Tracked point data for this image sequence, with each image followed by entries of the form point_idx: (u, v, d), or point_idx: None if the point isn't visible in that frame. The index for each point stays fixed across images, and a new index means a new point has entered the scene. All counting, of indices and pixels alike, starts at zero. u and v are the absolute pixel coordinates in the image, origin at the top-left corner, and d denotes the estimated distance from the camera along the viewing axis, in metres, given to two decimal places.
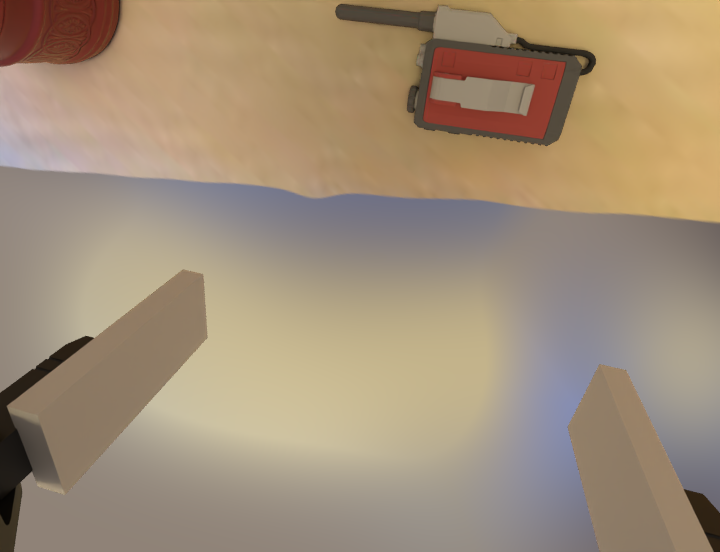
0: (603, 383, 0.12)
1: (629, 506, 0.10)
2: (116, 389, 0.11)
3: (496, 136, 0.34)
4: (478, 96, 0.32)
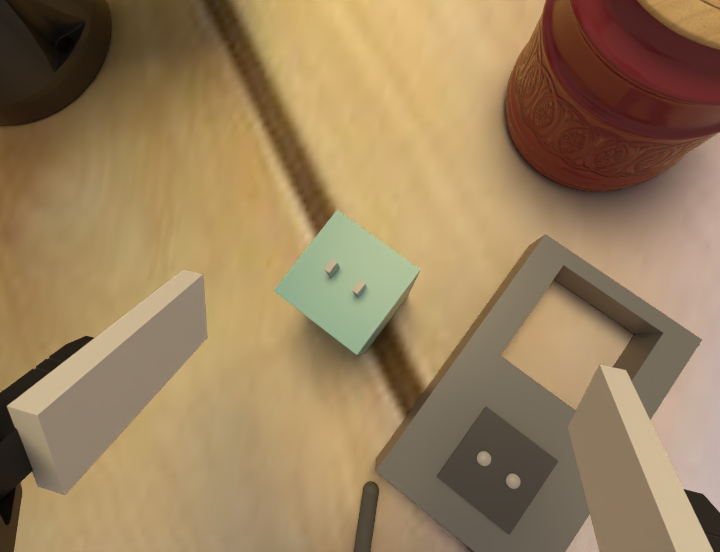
0: (602, 382, 0.12)
1: (629, 506, 0.10)
2: (116, 389, 0.11)
3: None
4: None
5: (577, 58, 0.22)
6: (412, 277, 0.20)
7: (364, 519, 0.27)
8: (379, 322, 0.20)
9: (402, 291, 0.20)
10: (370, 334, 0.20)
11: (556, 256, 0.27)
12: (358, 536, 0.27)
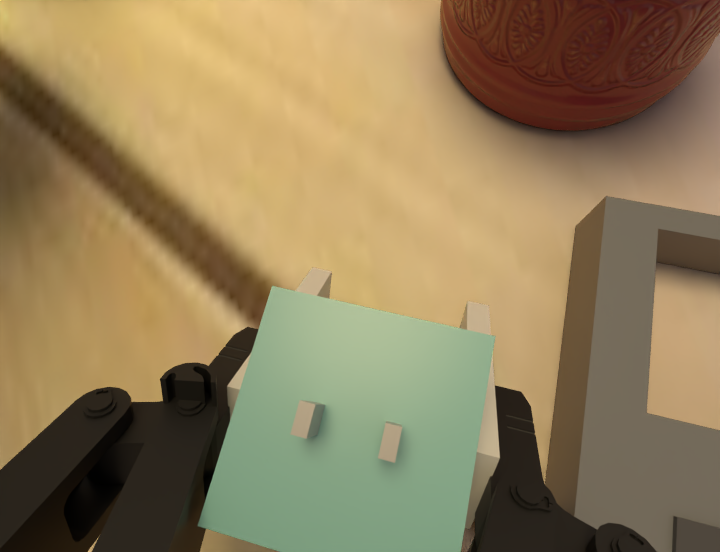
0: (466, 314, 0.15)
1: None
2: None
3: None
4: None
5: None
6: (487, 360, 0.09)
7: None
8: (466, 495, 0.08)
9: (481, 400, 0.09)
10: (459, 535, 0.08)
11: (639, 220, 0.17)
12: None
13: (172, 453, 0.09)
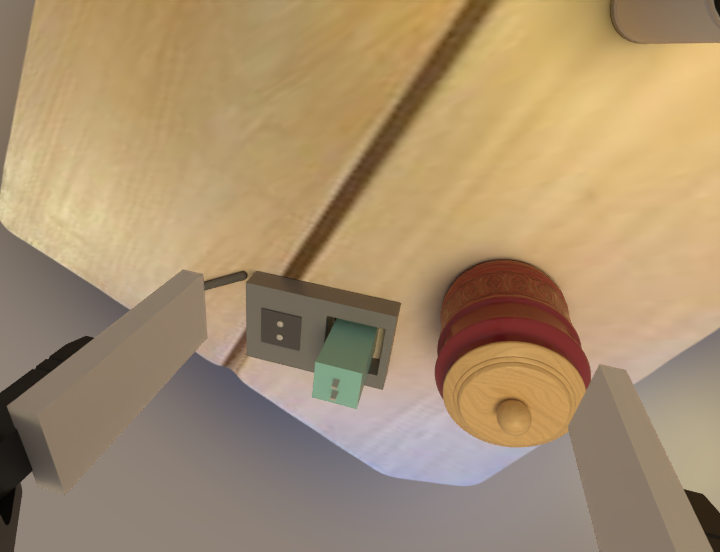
0: (602, 382, 0.12)
1: (629, 506, 0.10)
2: (116, 389, 0.11)
3: None
4: None
5: (457, 327, 0.39)
6: (351, 407, 0.46)
7: (229, 279, 0.53)
8: (328, 400, 0.47)
9: (344, 405, 0.46)
10: (322, 399, 0.47)
11: (388, 324, 0.49)
12: (222, 279, 0.54)
13: None
